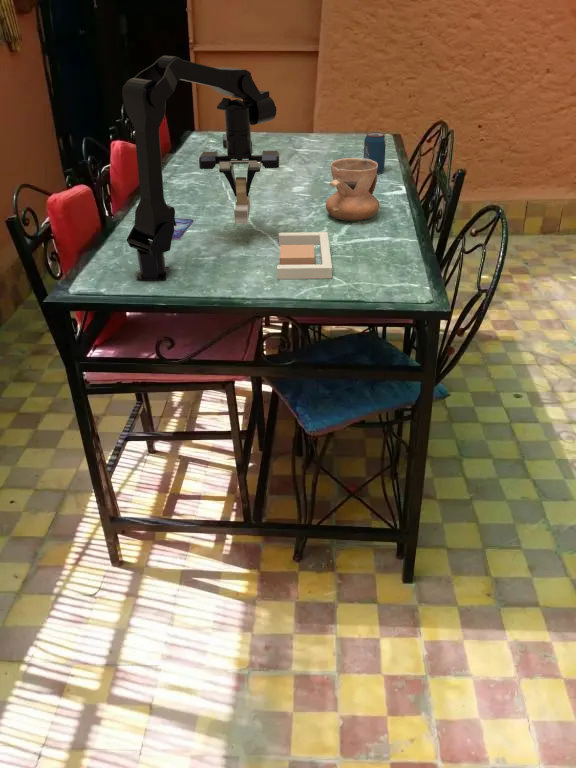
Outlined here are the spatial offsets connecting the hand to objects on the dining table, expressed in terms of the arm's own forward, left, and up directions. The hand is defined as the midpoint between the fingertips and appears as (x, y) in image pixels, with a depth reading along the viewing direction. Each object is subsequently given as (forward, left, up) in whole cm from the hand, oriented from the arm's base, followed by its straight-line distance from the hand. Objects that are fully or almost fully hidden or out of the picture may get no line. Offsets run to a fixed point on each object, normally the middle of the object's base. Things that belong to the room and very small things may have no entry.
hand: (241, 195), depth 155 cm
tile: (-14, -13, -11) cm, 22 cm away
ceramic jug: (+16, -29, -11) cm, 35 cm away
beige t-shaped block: (0, 0, -5) cm, 5 cm away
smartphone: (+7, +19, -12) cm, 23 cm away
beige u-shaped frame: (-14, -14, -11) cm, 23 cm away
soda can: (+59, -39, -11) cm, 72 cm away
